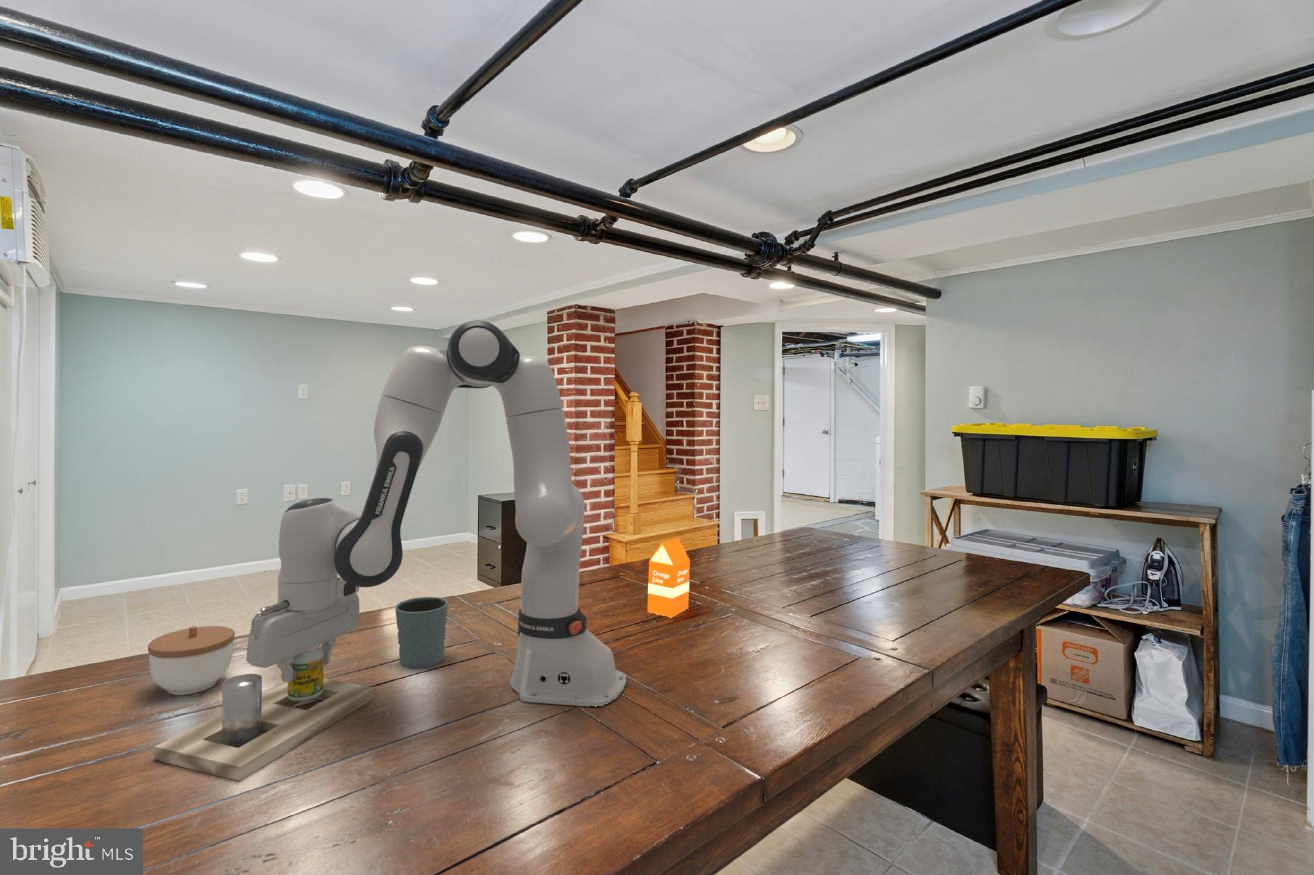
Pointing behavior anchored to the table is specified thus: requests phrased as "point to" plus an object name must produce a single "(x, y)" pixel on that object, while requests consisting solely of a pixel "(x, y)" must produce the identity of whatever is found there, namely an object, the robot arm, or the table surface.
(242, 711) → the steel pin
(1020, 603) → the table surface
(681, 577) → the orange juice
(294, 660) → the supplement bottle
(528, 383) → the robot arm
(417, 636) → the blue-grey cup
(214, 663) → the lidded bowl
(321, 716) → the pin board
